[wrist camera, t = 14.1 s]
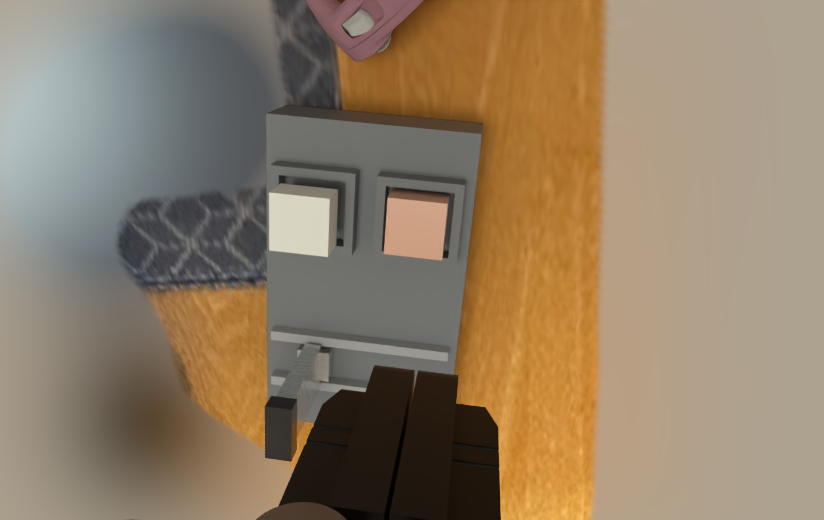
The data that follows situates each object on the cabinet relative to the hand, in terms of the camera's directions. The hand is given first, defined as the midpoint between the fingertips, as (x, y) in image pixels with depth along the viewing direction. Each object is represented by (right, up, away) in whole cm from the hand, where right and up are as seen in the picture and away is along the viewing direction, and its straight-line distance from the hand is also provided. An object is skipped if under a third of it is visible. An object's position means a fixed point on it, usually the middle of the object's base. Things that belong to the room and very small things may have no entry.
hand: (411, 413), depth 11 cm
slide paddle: (-6, -3, +29) cm, 30 cm away
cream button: (-6, +5, +24) cm, 25 cm away
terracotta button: (0, +5, +24) cm, 25 cm away
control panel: (-3, +2, +31) cm, 31 cm away
